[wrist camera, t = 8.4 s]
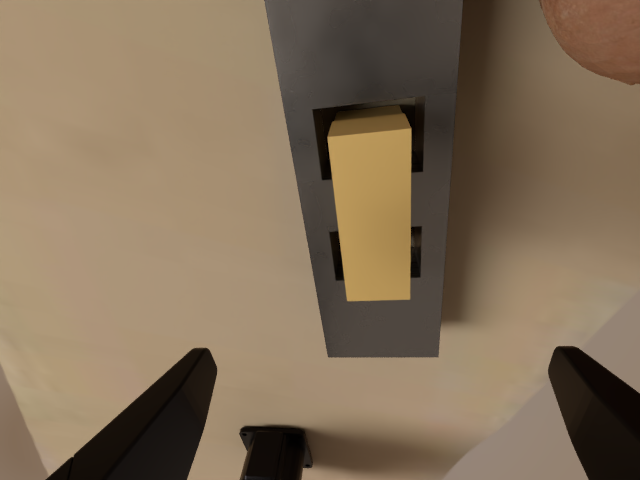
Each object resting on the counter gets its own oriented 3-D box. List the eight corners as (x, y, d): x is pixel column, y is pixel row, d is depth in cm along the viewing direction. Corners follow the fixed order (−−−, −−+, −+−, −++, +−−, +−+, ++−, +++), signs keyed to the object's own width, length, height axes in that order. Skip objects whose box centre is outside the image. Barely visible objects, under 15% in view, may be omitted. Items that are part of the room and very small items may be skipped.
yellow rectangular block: (400, 241, 21) (410, 299, 16) (350, 243, 21) (347, 301, 17) (398, 100, 16) (411, 128, 12) (336, 107, 17) (327, 137, 13)
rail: (430, 322, 24) (438, 357, 22) (331, 323, 25) (328, 357, 23) (450, -106, 13) (472, -138, 10) (269, -69, 14) (248, -89, 11)
